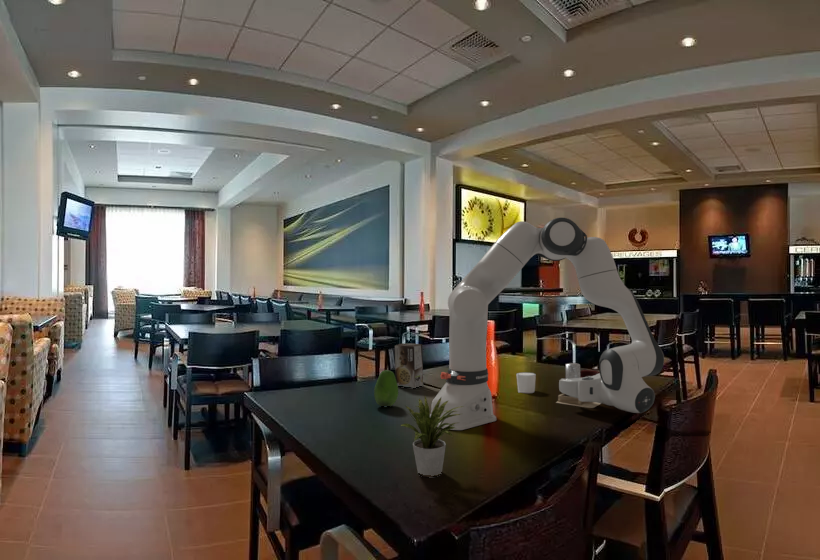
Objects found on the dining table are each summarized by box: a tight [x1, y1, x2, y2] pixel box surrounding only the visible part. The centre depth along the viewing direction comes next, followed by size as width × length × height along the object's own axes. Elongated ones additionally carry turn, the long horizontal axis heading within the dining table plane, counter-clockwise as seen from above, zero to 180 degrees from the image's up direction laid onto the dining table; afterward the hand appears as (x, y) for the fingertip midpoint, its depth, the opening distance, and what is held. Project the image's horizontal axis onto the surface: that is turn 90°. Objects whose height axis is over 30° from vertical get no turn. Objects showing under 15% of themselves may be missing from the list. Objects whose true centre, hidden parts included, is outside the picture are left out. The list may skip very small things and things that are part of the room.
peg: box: [565, 362, 581, 398], centre depth 164 cm, size 4×4×12 cm
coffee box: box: [394, 342, 424, 389], centre depth 194 cm, size 9×6×16 cm
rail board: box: [555, 393, 602, 409], centre depth 168 cm, size 24×12×3 cm, turn 140°
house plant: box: [400, 396, 464, 476], centre depth 106 cm, size 14×14×16 cm
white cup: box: [515, 371, 537, 394], centre depth 179 cm, size 7×7×7 cm
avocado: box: [373, 369, 399, 407], centre depth 163 cm, size 8×8×12 cm
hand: (574, 379), depth 163 cm, fingers open, 8 cm apart
